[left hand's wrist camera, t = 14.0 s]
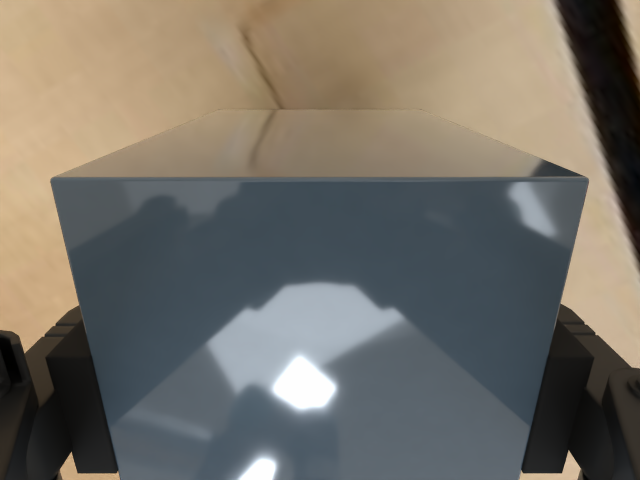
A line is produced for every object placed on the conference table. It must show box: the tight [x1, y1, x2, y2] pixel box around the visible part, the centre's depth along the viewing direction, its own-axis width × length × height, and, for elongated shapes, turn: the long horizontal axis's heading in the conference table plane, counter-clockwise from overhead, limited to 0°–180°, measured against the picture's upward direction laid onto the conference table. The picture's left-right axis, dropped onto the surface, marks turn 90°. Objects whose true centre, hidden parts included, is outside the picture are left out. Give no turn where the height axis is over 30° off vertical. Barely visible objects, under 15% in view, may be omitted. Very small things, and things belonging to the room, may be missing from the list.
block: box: [50, 109, 589, 480], centre depth 13 cm, size 8×9×11 cm
